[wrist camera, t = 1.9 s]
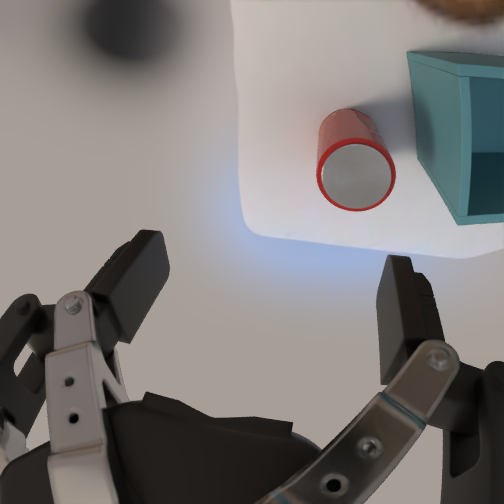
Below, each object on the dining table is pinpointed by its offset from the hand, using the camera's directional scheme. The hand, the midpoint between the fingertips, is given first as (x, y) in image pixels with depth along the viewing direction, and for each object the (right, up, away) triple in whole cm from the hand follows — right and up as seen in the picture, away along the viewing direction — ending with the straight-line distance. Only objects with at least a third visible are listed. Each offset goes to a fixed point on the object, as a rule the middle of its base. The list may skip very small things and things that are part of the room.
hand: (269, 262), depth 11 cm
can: (+9, +12, +20) cm, 25 cm away
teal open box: (+22, +15, +14) cm, 30 cm away
